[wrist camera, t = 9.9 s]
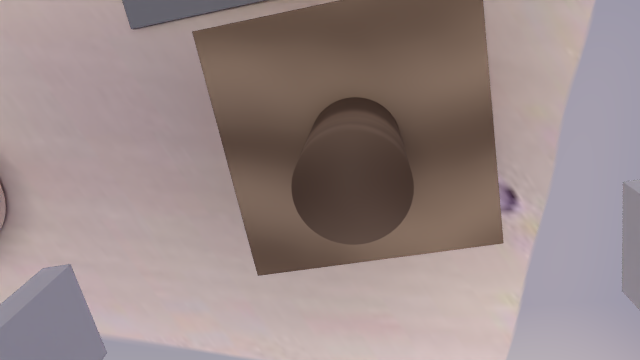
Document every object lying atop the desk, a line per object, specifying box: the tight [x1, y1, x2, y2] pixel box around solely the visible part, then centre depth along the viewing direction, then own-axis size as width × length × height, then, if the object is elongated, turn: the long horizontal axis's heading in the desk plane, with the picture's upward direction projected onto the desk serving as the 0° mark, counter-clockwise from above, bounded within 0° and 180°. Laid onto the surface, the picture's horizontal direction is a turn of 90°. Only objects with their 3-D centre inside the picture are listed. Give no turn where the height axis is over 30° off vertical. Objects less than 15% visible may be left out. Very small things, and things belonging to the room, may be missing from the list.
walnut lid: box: [192, 0, 503, 276], centre depth 21 cm, size 13×13×8 cm
